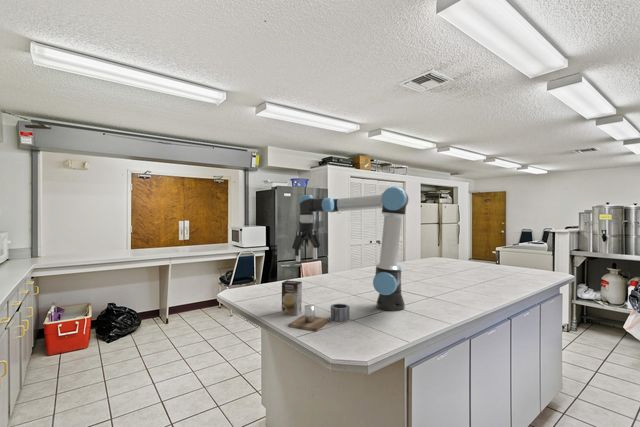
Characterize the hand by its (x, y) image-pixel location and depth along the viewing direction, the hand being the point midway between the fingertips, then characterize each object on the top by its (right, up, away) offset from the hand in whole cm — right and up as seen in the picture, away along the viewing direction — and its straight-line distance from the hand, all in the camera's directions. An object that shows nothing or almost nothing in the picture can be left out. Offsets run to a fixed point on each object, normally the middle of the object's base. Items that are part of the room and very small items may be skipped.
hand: (306, 260), depth 175 cm
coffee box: (-7, -25, -14) cm, 30 cm away
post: (+3, -24, -31) cm, 39 cm away
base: (+3, -25, -31) cm, 40 cm away
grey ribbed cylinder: (+17, -25, -23) cm, 38 cm away
